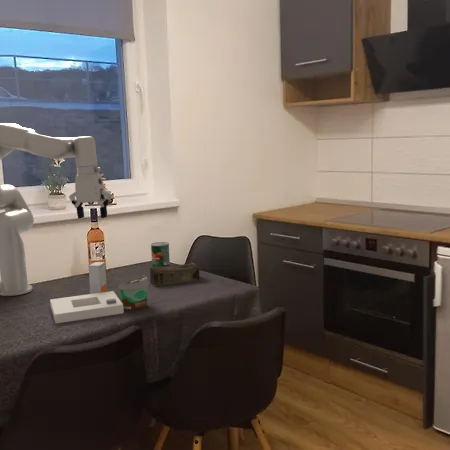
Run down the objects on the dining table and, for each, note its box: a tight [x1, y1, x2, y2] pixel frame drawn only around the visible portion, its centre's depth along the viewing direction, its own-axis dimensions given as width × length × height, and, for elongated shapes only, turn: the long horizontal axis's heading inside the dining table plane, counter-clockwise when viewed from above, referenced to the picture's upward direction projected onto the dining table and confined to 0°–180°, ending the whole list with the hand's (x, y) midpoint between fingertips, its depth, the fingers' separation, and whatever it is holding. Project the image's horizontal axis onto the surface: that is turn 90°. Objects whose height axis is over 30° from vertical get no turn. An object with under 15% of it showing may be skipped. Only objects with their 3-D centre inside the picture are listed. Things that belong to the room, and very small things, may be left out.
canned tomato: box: [150, 241, 171, 268], centre depth 244 cm, size 8×8×11 cm
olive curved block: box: [149, 262, 201, 288], centre depth 221 cm, size 8×19×7 cm, turn 113°
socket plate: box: [49, 290, 125, 324], centre depth 188 cm, size 22×18×4 cm
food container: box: [118, 274, 150, 312], centre depth 188 cm, size 12×6×10 cm, turn 148°
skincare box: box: [88, 261, 108, 294], centre depth 205 cm, size 6×4×12 cm
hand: (92, 217), depth 202 cm, fingers open, 9 cm apart
